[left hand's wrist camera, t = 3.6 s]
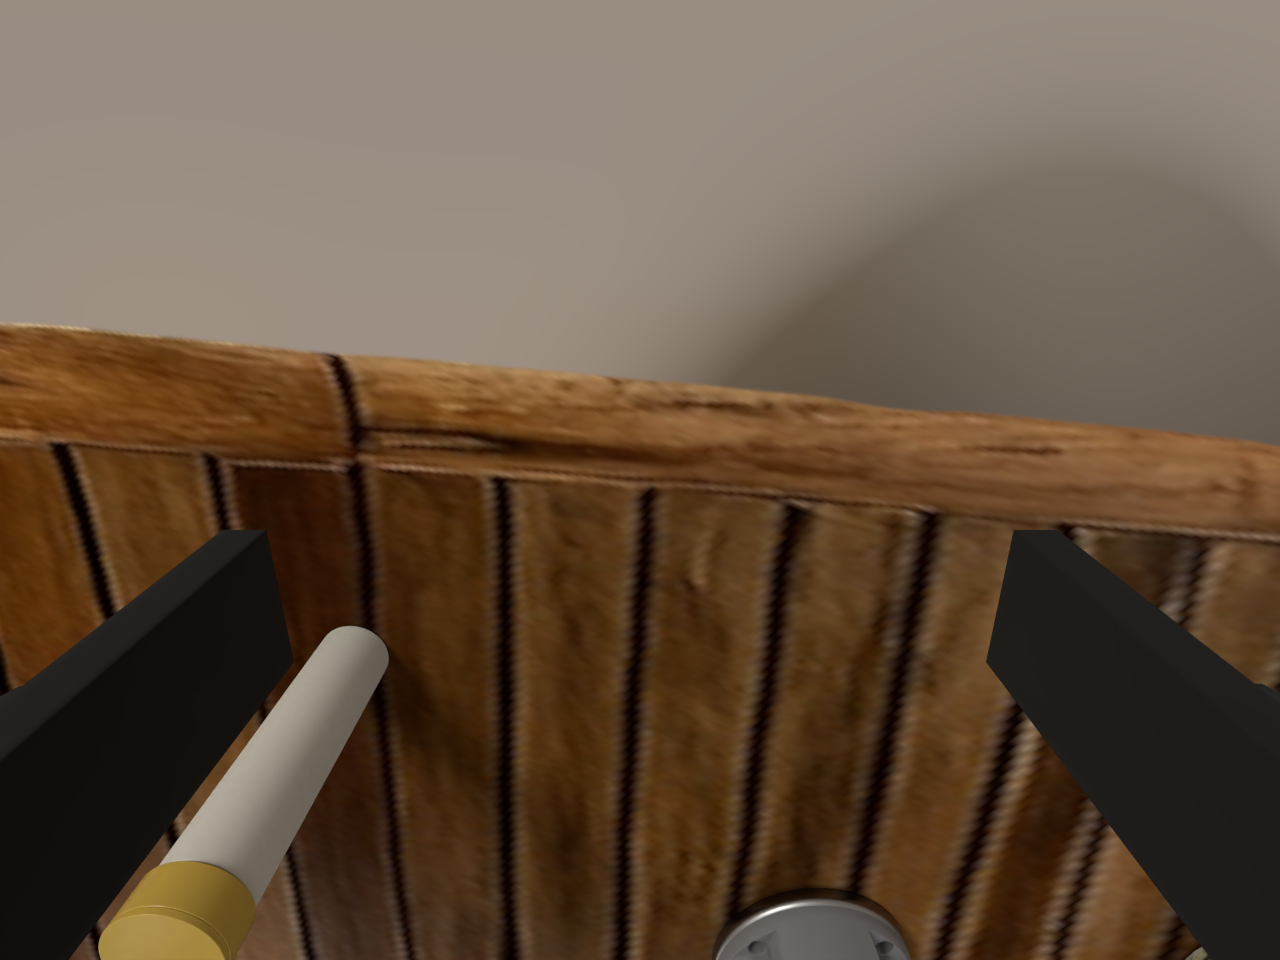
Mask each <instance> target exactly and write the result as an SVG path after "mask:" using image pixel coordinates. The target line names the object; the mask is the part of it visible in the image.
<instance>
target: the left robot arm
mask: <svg viewBox="0 0 1280 960" xmlns="http://www.w3.org/2000/svg"><path fill="white" fill-rule="evenodd" d="M293 662H294V661H293V656H292V651H291V646H290V641H289V637H288V632H287V627H286V622H285V618H284V613H283V608H282V603H281V599H280V594H279V589H278V584H277V579H276V575H275V570H274V565H273V560H272V556H271V551H270V546H269V541H268V536H267V532H266V530H222V531H221V532H219V533H218V534H217V535H216V536H214V537H213V538H212V539H210V540H209V541H208V542H207V543H205V544H204V545H203V546H201V547H200V548H199V549H198V550H196V551H195V552H194V553H192V554H191V555H190V556H189V557H187V558H186V559H185V560H183V561H182V562H181V563H180V564H178V565H177V566H176V567H175V568H173V569H172V570H171V571H169V572H168V573H167V574H166V575H164V576H163V577H162V578H160V579H159V580H158V581H157V582H155V583H154V584H153V585H151V586H150V587H149V588H148V589H146V590H145V591H144V592H142V593H141V594H140V595H139V596H137V597H136V598H135V599H134V600H132V601H131V602H130V603H128V604H127V605H126V606H125V607H123V608H122V609H121V610H119V611H118V612H117V613H116V614H114V615H113V616H112V617H110V618H109V619H108V620H107V621H105V622H104V623H103V624H101V625H100V626H99V627H98V628H96V629H95V630H94V631H92V632H91V633H90V634H89V635H87V636H86V637H85V638H84V639H82V640H81V641H80V642H78V643H77V644H76V645H75V646H73V647H72V648H71V649H69V650H68V651H67V652H66V653H64V654H63V655H62V656H60V657H59V658H58V659H57V660H55V661H54V662H53V663H51V664H50V665H49V666H48V667H46V668H45V669H44V670H42V671H41V672H40V673H39V674H37V675H36V676H35V677H34V678H32V679H31V680H30V681H28V682H27V683H26V684H25V685H23V686H19V687H17V688H15V689H13V690H11V691H10V692H8V693H6V694H4V695H2V696H0V960H69V958H70V957H71V956H72V954H73V953H74V952H75V950H76V949H77V948H78V947H79V945H80V944H81V943H82V941H83V940H84V939H85V937H86V936H87V935H88V933H89V932H90V931H91V929H92V928H93V927H94V925H95V924H96V923H97V921H98V920H99V919H100V917H101V916H102V915H103V913H104V912H105V911H106V910H107V908H108V907H109V906H110V904H111V903H112V902H113V900H114V899H115V898H116V896H117V895H118V894H119V892H120V891H121V890H122V888H123V887H124V886H125V884H126V883H127V882H128V880H129V879H130V878H131V876H132V875H133V874H134V873H135V871H136V870H137V869H138V867H139V866H140V865H141V863H142V862H143V861H144V859H145V858H146V857H147V855H148V854H149V853H150V851H151V850H152V849H153V847H154V846H155V845H156V843H157V842H158V841H159V839H160V838H161V837H162V836H163V834H164V833H165V832H166V830H167V829H168V828H169V826H170V825H171V824H172V822H173V821H174V820H175V818H176V817H177V816H178V814H179V813H180V812H181V810H182V809H183V808H184V806H185V805H186V804H187V802H188V801H189V800H190V798H191V797H192V796H193V795H194V793H195V792H196V791H197V789H198V788H199V787H200V785H201V784H202V783H203V781H204V780H205V779H206V777H207V776H208V775H209V773H210V772H211V771H212V769H213V768H214V767H215V765H216V764H217V763H218V761H219V760H220V759H221V758H222V756H223V755H224V754H225V752H226V751H227V750H228V748H229V747H230V746H231V744H232V743H233V742H234V740H235V739H236V738H237V736H238V735H239V734H240V732H241V731H242V730H243V728H244V727H245V726H246V724H247V723H248V722H249V721H250V719H251V718H252V717H253V715H254V714H255V713H256V711H257V710H258V709H259V707H260V706H261V705H262V703H263V702H264V701H265V699H266V698H267V697H268V695H269V694H270V693H271V691H272V690H273V689H274V687H275V686H276V685H277V684H278V682H279V681H280V680H281V678H282V677H283V676H284V674H285V673H286V672H287V670H288V669H289V668H290V666H291V665H292V664H293ZM986 662H987V664H988V665H989V666H990V668H991V669H992V670H993V672H994V673H995V674H996V676H997V677H998V678H999V680H1000V681H1001V682H1002V684H1003V685H1004V686H1005V687H1006V689H1007V690H1008V691H1009V693H1010V694H1011V695H1012V697H1013V698H1014V699H1015V701H1016V702H1017V703H1018V705H1019V706H1020V707H1021V709H1022V710H1023V711H1024V713H1025V714H1026V715H1027V717H1028V718H1029V719H1030V721H1031V722H1032V723H1033V724H1034V726H1035V727H1036V728H1037V730H1038V731H1039V732H1040V734H1041V735H1042V736H1043V738H1044V739H1045V740H1046V742H1047V743H1048V744H1049V746H1050V747H1051V748H1052V750H1053V751H1054V752H1055V754H1056V755H1057V756H1058V758H1059V759H1060V760H1061V761H1062V763H1063V764H1064V765H1065V767H1066V768H1067V769H1068V771H1069V772H1070V773H1071V775H1072V776H1073V777H1074V779H1075V780H1076V781H1077V783H1078V784H1079V785H1080V787H1081V788H1082V789H1083V791H1084V792H1085V793H1086V795H1087V796H1088V797H1089V798H1090V800H1091V801H1092V802H1093V804H1094V805H1095V806H1096V808H1097V809H1098V810H1099V812H1100V813H1101V814H1102V816H1103V817H1104V818H1105V820H1106V821H1107V822H1108V824H1109V825H1110V826H1111V828H1112V829H1113V830H1114V832H1115V833H1116V834H1117V836H1118V837H1119V838H1120V839H1121V841H1122V842H1123V843H1124V845H1125V846H1126V847H1127V849H1128V850H1129V851H1130V853H1131V854H1132V855H1133V857H1134V858H1135V859H1136V861H1137V862H1138V863H1139V865H1140V866H1141V867H1142V869H1143V870H1144V871H1145V873H1146V874H1147V875H1148V876H1149V878H1150V879H1151V880H1152V882H1153V883H1154V884H1155V886H1156V887H1157V888H1158V890H1159V891H1160V892H1161V894H1162V895H1163V896H1164V898H1165V899H1166V900H1167V902H1168V903H1169V904H1170V906H1171V907H1172V908H1173V910H1174V911H1175V912H1176V913H1177V915H1178V916H1179V917H1180V919H1181V920H1182V921H1183V923H1184V924H1185V925H1186V927H1187V928H1188V929H1189V931H1190V932H1191V933H1192V935H1193V936H1194V937H1195V939H1196V940H1197V941H1198V943H1199V944H1200V945H1201V947H1202V948H1203V949H1204V950H1205V952H1206V953H1207V954H1208V956H1209V957H1210V958H1211V960H1280V693H1278V692H1276V691H1274V690H1273V689H1271V688H1269V687H1267V686H1265V685H1263V684H1254V683H1253V682H1252V681H1250V680H1249V679H1248V678H1246V677H1245V676H1244V675H1243V674H1241V673H1240V672H1239V671H1238V670H1236V669H1235V668H1234V667H1232V666H1231V665H1230V664H1229V663H1227V662H1226V661H1225V660H1223V659H1222V658H1221V657H1220V656H1218V655H1217V654H1216V653H1214V652H1213V651H1212V650H1211V649H1209V648H1208V647H1207V646H1205V645H1204V644H1203V643H1202V642H1200V641H1199V640H1198V639H1196V638H1195V637H1194V636H1193V635H1191V634H1190V633H1189V632H1188V631H1186V630H1185V629H1184V628H1182V627H1181V626H1180V625H1179V624H1177V623H1176V622H1175V621H1173V620H1172V619H1171V618H1170V617H1168V616H1167V615H1166V614H1164V613H1163V612H1162V611H1161V610H1159V609H1158V608H1157V607H1155V606H1154V605H1153V604H1152V603H1150V602H1149V601H1148V600H1146V599H1145V598H1144V597H1143V596H1141V595H1140V594H1139V593H1138V592H1136V591H1135V590H1134V589H1132V588H1131V587H1130V586H1129V585H1127V584H1126V583H1125V582H1123V581H1122V580H1121V579H1120V578H1118V577H1117V576H1116V575H1114V574H1113V573H1112V572H1111V571H1109V570H1108V569H1107V568H1105V567H1104V566H1103V565H1102V564H1100V563H1099V562H1098V561H1096V560H1095V559H1094V558H1093V557H1091V556H1090V555H1089V554H1088V553H1086V552H1085V551H1084V550H1082V549H1081V548H1080V547H1079V546H1077V545H1076V544H1075V543H1073V542H1072V541H1071V540H1070V539H1068V538H1067V537H1066V536H1064V535H1063V534H1062V533H1061V532H1059V531H1058V530H1014V532H1013V536H1012V541H1011V546H1010V551H1009V556H1008V560H1007V565H1006V570H1005V575H1004V579H1003V584H1002V589H1001V594H1000V599H999V603H998V608H997V613H996V618H995V622H994V627H993V632H992V637H991V641H990V646H989V651H988V656H987V661H986ZM712 960H910V955H909V952H908V949H907V946H906V943H905V940H904V937H903V935H902V932H901V930H900V928H899V926H898V924H897V923H896V921H895V920H894V919H893V918H892V917H891V915H890V914H888V913H887V912H886V911H885V910H884V909H883V908H881V907H880V906H879V905H877V904H875V903H874V902H872V901H870V900H868V899H866V898H863V897H861V896H858V895H855V894H852V893H848V892H844V891H839V890H831V889H802V890H794V891H789V892H784V893H780V894H777V895H774V896H771V897H768V898H765V899H763V900H760V901H758V902H756V903H754V904H752V905H751V906H749V907H747V908H746V909H744V910H743V911H741V912H740V913H739V914H737V915H736V916H735V917H734V918H733V919H732V920H731V921H730V922H729V923H728V924H727V925H726V926H725V927H724V929H723V930H722V931H721V933H720V935H719V936H718V938H717V940H716V943H715V945H714V949H713V954H712Z"/></svg>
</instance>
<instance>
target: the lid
mask: <svg viewBox="0 0 1280 960" xmlns="http://www.w3.org/2000/svg"><path fill="white" fill-rule="evenodd" d="M255 916H256V906H255V902H254V899H253V897H252V895H251V893H250V892H249V890H248V889H247V888H246V886H245V885H244V884H243V883H242V882H241V881H239V880H238V879H237V878H236V877H234V876H233V875H231V874H230V873H228V872H226V871H224V870H222V869H220V868H218V867H215V866H212V865H209V864H205V863H201V862H194V861H176V862H169V863H166V864H162V865H160V866H158V867H156V868H154V869H152V870H151V871H150V872H148V873H147V874H146V875H145V876H144V877H143V879H142V880H141V881H140V883H139V884H138V885H137V887H136V888H135V890H134V891H133V892H132V894H131V895H130V896H129V898H128V899H127V900H126V902H125V903H124V904H123V906H122V907H121V909H120V910H119V911H118V913H117V914H116V915H115V917H114V918H113V919H112V921H111V922H110V924H109V925H108V926H107V927H106V929H105V930H104V932H103V933H102V935H101V938H100V941H99V954H100V958H101V960H234V958H235V956H236V955H237V953H238V951H239V949H240V947H241V945H242V943H243V942H244V940H245V938H246V936H247V934H248V932H249V930H250V929H251V927H252V925H253V923H254V920H255Z"/></svg>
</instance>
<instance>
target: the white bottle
mask: <svg viewBox="0 0 1280 960" xmlns="http://www.w3.org/2000/svg"><path fill="white" fill-rule="evenodd" d="M388 661H389V655H388V651H387V648H386V646H385V644H384V643H383V641H382V640H381V639H380V638H379V637H378V636H377V635H376V634H374V633H373V632H371V631H369V630H367V629H364V628H361V627H356V626H344V627H340V628H337V629H335V630H333V631H331V632H330V633H329V634H327V636H326V637H325V638H324V639H323V641H322V642H321V644H320V645H319V646H318V648H317V649H316V650H315V652H314V653H313V655H312V656H311V657H310V659H309V660H308V661H307V663H306V664H305V666H304V667H303V668H302V670H301V671H300V672H299V674H298V675H297V677H296V678H295V679H294V681H293V682H292V683H291V685H290V686H289V688H288V689H287V690H286V692H285V693H284V694H283V696H282V697H281V699H280V700H279V701H278V703H277V704H276V705H275V707H274V708H273V710H272V711H271V712H270V714H269V715H268V716H267V718H266V719H265V721H264V722H263V723H262V725H261V726H260V727H259V729H258V730H257V732H256V733H255V734H254V736H253V737H252V738H251V740H250V741H249V743H248V744H247V745H246V747H245V748H244V749H243V751H242V752H241V754H240V755H239V756H238V758H237V759H236V760H235V762H234V763H233V765H232V766H231V767H230V769H229V770H228V771H227V773H226V774H225V776H224V777H223V778H222V780H221V781H220V782H219V784H218V785H217V787H216V788H215V789H214V791H213V792H212V793H211V795H210V796H209V798H208V799H207V800H206V802H205V803H204V804H203V806H202V807H201V809H200V810H199V811H198V813H197V814H196V815H195V817H194V818H193V819H192V821H191V822H190V824H189V825H188V826H187V828H186V829H185V830H184V832H183V833H182V835H181V836H180V837H179V839H178V840H177V841H176V843H175V844H174V846H173V847H172V848H171V850H170V851H169V852H168V854H167V855H166V857H165V858H164V859H163V861H162V862H161V863H160V865H162V864H166V863H169V862H176V861H194V862H201V863H205V864H209V865H212V866H215V867H218V868H220V869H222V870H224V871H226V872H228V873H230V874H231V875H233V876H234V877H236V878H237V879H238V880H239V881H241V882H242V883H243V884H244V885H245V886H246V888H247V889H248V890H249V892H250V893H251V895H252V897H253V899H254V902H255V906H257V904H258V903H259V901H260V899H261V897H262V895H263V893H264V892H265V890H266V888H267V886H268V884H269V883H270V881H271V879H272V877H273V875H274V873H275V872H276V870H277V868H278V866H279V864H280V862H281V861H282V859H283V857H284V855H285V853H286V851H287V850H288V848H289V846H290V844H291V842H292V840H293V839H294V837H295V835H296V833H297V831H298V829H299V828H300V826H301V824H302V822H303V820H304V818H305V817H306V815H307V813H308V811H309V809H310V807H311V806H312V804H313V802H314V800H315V798H316V796H317V795H318V793H319V791H320V789H321V787H322V786H323V784H324V782H325V780H326V778H327V776H328V775H329V773H330V771H331V769H332V767H333V765H334V764H335V762H336V760H337V758H338V756H339V754H340V753H341V751H342V749H343V747H344V745H345V743H346V742H347V740H348V738H349V736H350V734H351V732H352V731H353V729H354V727H355V725H356V723H357V721H358V720H359V718H360V716H361V714H362V712H363V710H364V709H365V707H366V705H367V703H368V701H369V699H370V698H371V696H372V694H373V692H374V690H375V689H376V687H377V685H378V683H379V681H380V679H381V678H382V676H383V674H384V672H385V670H386V668H387V666H388ZM160 865H159V866H160Z"/></svg>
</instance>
